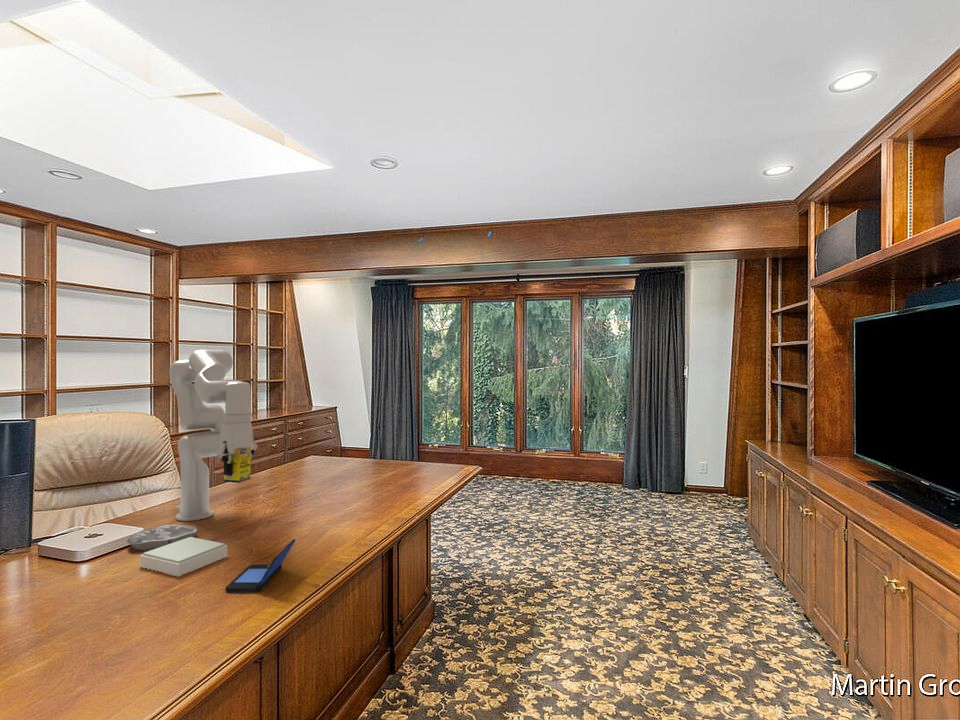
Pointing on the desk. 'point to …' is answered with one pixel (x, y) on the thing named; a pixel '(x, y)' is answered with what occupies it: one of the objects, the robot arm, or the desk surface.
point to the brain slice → (161, 536)
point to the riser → (183, 556)
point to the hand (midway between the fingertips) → (237, 472)
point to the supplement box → (240, 466)
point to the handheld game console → (258, 574)
